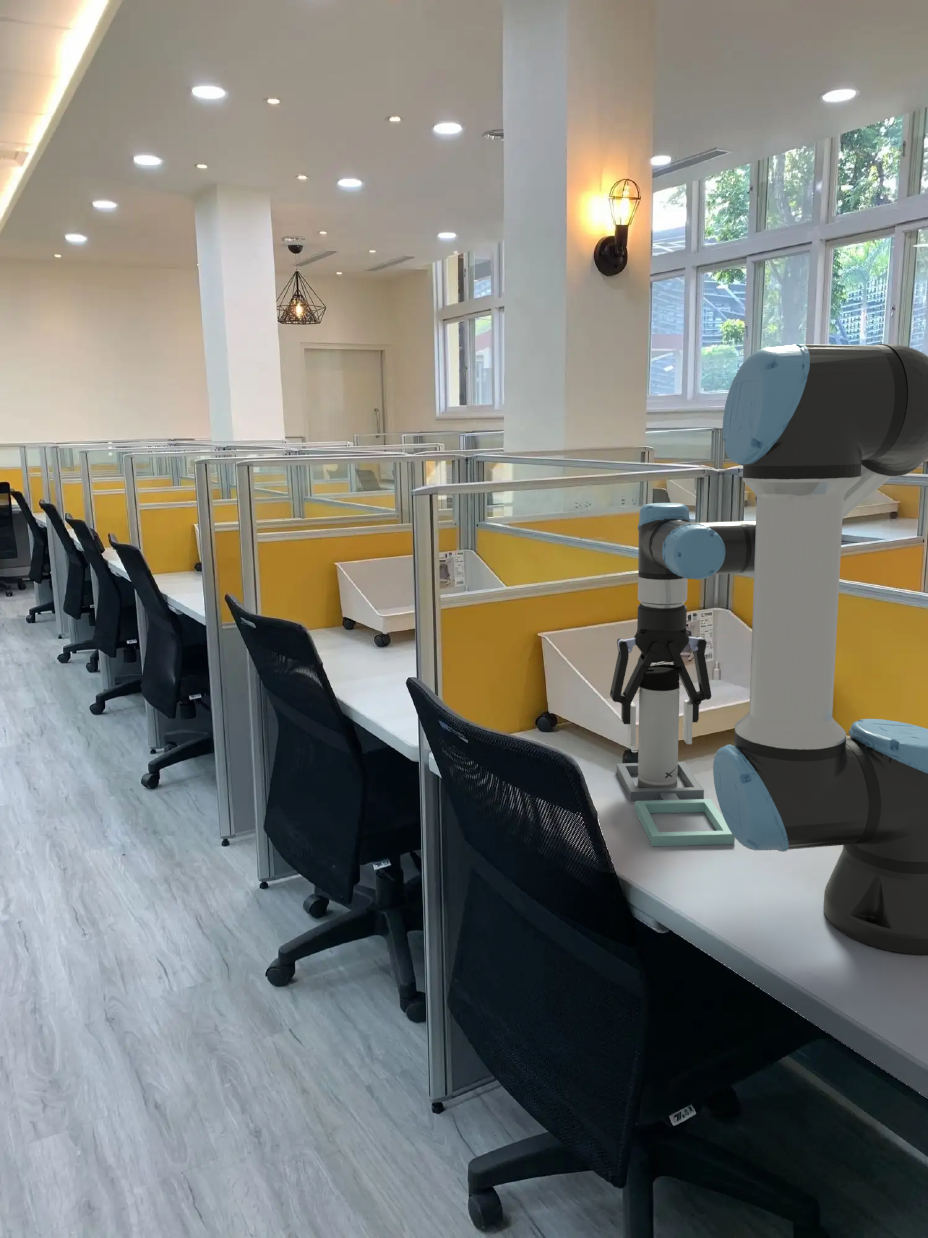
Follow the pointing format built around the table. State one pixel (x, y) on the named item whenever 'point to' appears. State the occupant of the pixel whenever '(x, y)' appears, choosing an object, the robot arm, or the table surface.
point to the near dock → (683, 838)
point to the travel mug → (658, 727)
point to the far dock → (647, 794)
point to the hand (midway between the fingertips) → (659, 742)
